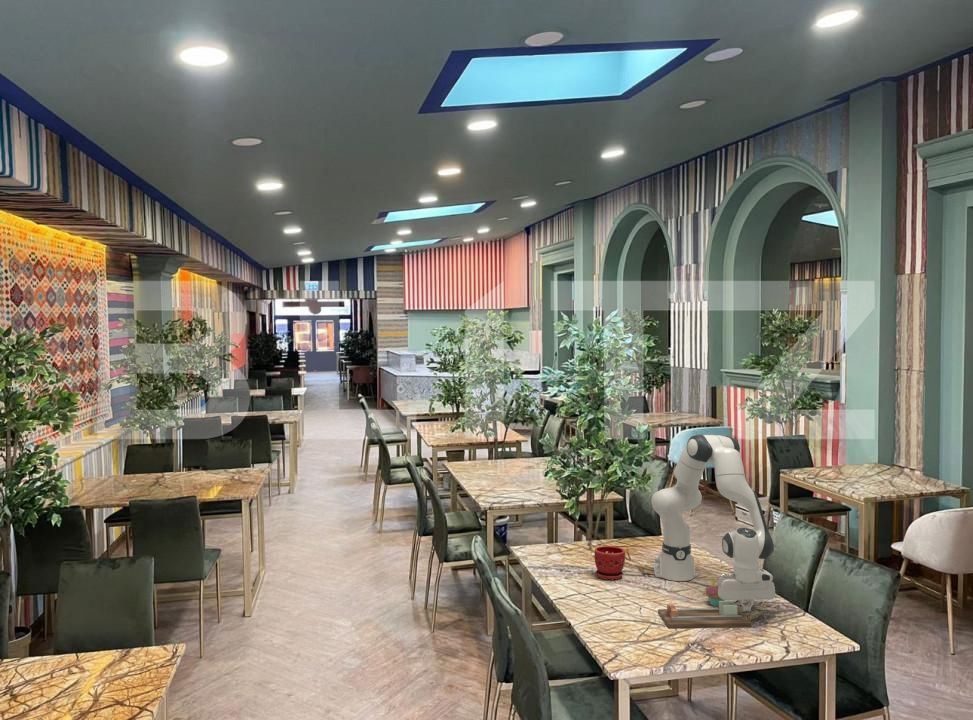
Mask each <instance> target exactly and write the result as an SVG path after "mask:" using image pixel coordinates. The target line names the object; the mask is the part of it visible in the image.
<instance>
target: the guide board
mask: <svg viewBox="0 0 973 720" xmlns="http://www.w3.org/2000/svg"><path fill="white" fill-rule="evenodd" d="M657 613H658V615H659V616H660V618H661V620H662V621H663V623H664V624H665V626H666V627H667V628H668V629H706V628H707V629H710V628H711V629H713V628H752V627H753V623H752V622H751V620H750V619H749V618H748V617H747V616H745V614H743V611H742V610H740V609H739V608H738V607H737V615H726V616H721V615H720V614H719V607H715V608H714V607H713V608H712V607H710V608H677V607H676V606H675V605H674V604H673V603H672V602H671V603H666V608H663V609H658V610H657Z"/></svg>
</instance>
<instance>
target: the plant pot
mask: <svg viewBox="0 0 973 720" xmlns="http://www.w3.org/2000/svg"><path fill="white" fill-rule="evenodd" d="M593 553H594V564H595V566H596V569H597V570H595V575H596V576H598V577H599V578H600V579H603V580H607V579H611V580H612V581H613V579H615V580H618V579H621V578H622V577H623V575H624V572H623V569H624V566H625V561H626V550H625V549H623V548H622V547H619V546H612V545H603V546H597V547H595V548H594V552H593Z"/></svg>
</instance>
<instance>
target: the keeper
mask: <svg viewBox="0 0 973 720" xmlns="http://www.w3.org/2000/svg"><path fill="white" fill-rule="evenodd" d="M718 608H719V614H720V615H721V616H726V615H737V608H738V604H736V603H735V602H734V600H725V601H719V607H718Z"/></svg>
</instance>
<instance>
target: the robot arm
mask: <svg viewBox="0 0 973 720" xmlns="http://www.w3.org/2000/svg"><path fill="white" fill-rule="evenodd" d="M740 447H741V446H740V444H739V441H738V440H737V439H736V438H734V437H731V436H724V435H719V434H695V435H692V436H690V438H689V439H688V440H687V443H686V445H685V446H684V447H683V449H682V451H681V452H680V453H681V454H680V456H679V458H678V461H677V463H676V465H675V467H674V470H673V475H674V478H675V479H676V483H675V485H674V486H671V487H667V488H666V487H665V488H662V489H660V490H658V491H656V492H654V493H653V494H652V496H651V500H650V502H651V507H652V509H653V511H654V512H655V513H657V514H658V515H659V518H660V519H661V523H662V529H663V531H662V532H663V542H662V546H661V550H662V551H661V552H659V554H658V555H657V557H654V562H655V563H653V564H652V568H654V569H653V574H654V577H656V578H661V579H665V580H668V581H674V582H675V581H676V582H687V581H690V580H693V579H694V578H696V577H699V573H698V572H697V571H696V566H695V565H696V564H695V557H694V556H693V555H692V546H691V543H690V542H691V533H690V532H691V531H690V530H691V529H690V525H689V524H688V523H687V522H685V521H684V518H683V512H688V511H691V510H693V509H696V508H697V507H699V506H700V505H701V503H702V499H703V496H702V493H701V491H700V490H699V486H700V485H699V484H700V482H701V478H702V476H703V473H704V471H705V469H706V466H707V463H711V464H712V465H713V467H714V478H715V485H716V488H717V491H718V493H719V494H720V495H721V496H723V498H726V499H727V500H729V501H732V502H735V503H738V504H740V505H742V506H744V507H745V508H746V509H747V511H748V513H749V516H750V519H751V523H752V526H753V529H752V528H749V527H740V528H737V529H736V530H735V531H730V532H726V533H725V535H724V536H723V537H722V540H721V547H722V552H723V553H724V554H725V555H726V556H727V557H728V558H732V559H734V562H733V573H727V574H726V573H723V574H721V575H719V577H718V578H717V579H718V581H717V583H718V586H719V587H718V596H719V597H720V598H721V599H722V600H725V601H738V602H739V604H740V605H741V607H740V608H741V612H742V613H743V612H745V613H746V612H752V607H753V605H754V604H755V601H756V600H757V601H758V600H762V601H764V600H774V599H775V597H776V587H775V583H774V580H773V579H774V575H772V573H770V572H769V571H768V570H765V569H763V568H760V564H759V560H767V559H768V558H769V557H770V556H772V555H773V553H774V550H775V545H774V541H773V537H772V536H771V534H770V533H771V532H770V531H769V528H768V525H767V521H766V519H765V515H764V512H763V509H762V505H761V502H760V499H759V496H758V493H756V491H755V490H754V489H752V488H751V486H749V484H748V482H747V479H746V475H745V468H744V464H743V460H742V457H741V454H740V451H741V450H740V449H741V448H740ZM745 601H748V603H747V605H745V604H744V603H745Z"/></svg>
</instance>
